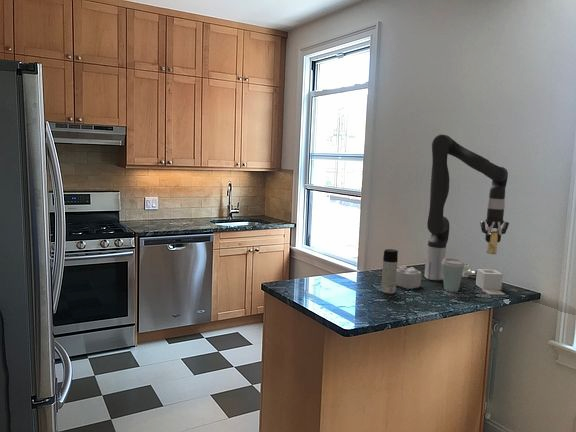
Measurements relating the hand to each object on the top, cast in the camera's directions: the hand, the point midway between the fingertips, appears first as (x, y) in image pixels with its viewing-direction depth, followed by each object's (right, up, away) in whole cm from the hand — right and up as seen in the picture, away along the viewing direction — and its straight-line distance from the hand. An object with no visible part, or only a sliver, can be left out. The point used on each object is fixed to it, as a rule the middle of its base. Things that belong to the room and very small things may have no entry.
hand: (492, 241), depth 236 cm
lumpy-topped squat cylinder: (-42, -22, +3) cm, 48 cm away
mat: (-2, -24, -6) cm, 25 cm away
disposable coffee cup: (-22, -23, -4) cm, 33 cm away
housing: (-1, -23, +4) cm, 23 cm away
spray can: (-54, -23, -11) cm, 60 cm away
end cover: (0, -6, +1) cm, 6 cm away
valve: (-3, -21, +21) cm, 30 cm away
